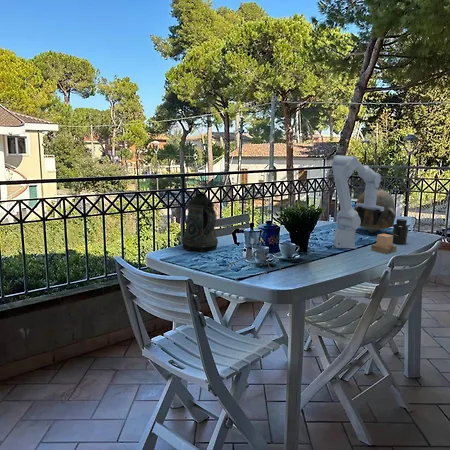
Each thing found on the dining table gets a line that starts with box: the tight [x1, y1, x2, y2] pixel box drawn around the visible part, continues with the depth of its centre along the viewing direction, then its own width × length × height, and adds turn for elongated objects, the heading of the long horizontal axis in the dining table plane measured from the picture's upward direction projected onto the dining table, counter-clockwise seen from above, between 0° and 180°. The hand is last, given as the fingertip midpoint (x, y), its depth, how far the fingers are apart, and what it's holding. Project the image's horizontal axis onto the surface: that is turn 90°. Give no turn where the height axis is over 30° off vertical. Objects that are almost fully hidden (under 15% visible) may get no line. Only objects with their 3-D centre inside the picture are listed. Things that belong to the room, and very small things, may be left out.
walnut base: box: [370, 243, 397, 255], centre depth 198 cm, size 8×8×3 cm
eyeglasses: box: [226, 252, 282, 279], centre depth 165 cm, size 16×15×5 cm
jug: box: [353, 182, 397, 233], centre depth 233 cm, size 24×21×30 cm
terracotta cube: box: [375, 233, 394, 248], centre depth 197 cm, size 5×5×5 cm
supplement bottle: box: [391, 218, 409, 245], centre depth 213 cm, size 7×7×12 cm
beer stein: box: [181, 193, 219, 253], centre depth 193 cm, size 16×19×25 cm
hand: (368, 223), depth 213 cm, fingers open, 7 cm apart
